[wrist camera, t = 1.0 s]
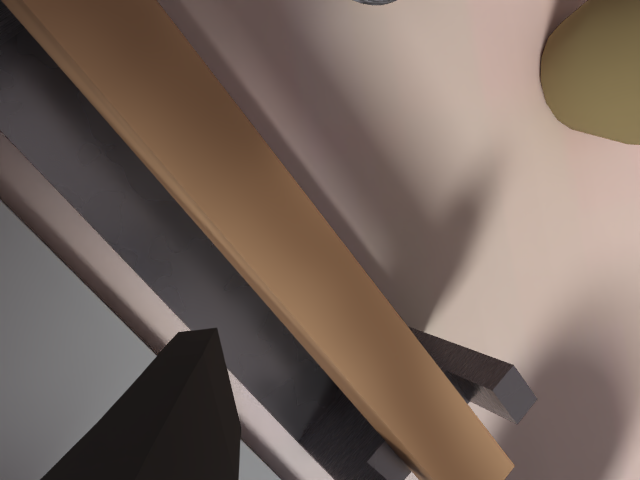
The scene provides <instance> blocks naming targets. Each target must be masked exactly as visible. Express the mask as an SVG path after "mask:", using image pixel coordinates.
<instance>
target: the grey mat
mask: <svg viewBox="0 0 640 480" xmlns="http://www.w3.org/2000/svg"><path fill="white" fill-rule="evenodd" d="M156 357H157V355H156V354H155V353H154V352H153V351H152V350H151V349H150V348H149V347H148V346H147V345H146V344H145V343H144V342H143V341H142V340H141V339H140V338H139V337H138V336H137V335H136V334H135V333H134V332H133V331H132V330H131V329H130V328H129V327H128V326H127V325H126V324H125V323H124V322H123V321H122V320H121V319H120V318H119V317H118V316H117V315H116V314H115V313H114V312H113V311H112V310H111V309H110V308H109V307H108V306H107V305H106V304H105V303H104V302H103V301H102V300H101V299H100V298H99V297H98V296H97V295H96V294H95V293H94V292H93V291H92V290H91V289H90V288H89V287H88V286H87V285H86V284H85V283H84V282H83V281H82V280H81V279H80V278H79V277H78V276H77V275H76V274H75V273H74V272H73V271H72V270H71V269H70V268H69V267H68V266H67V265H66V264H65V263H64V262H63V261H62V260H61V259H60V258H59V257H58V256H57V255H56V254H55V253H54V252H53V251H52V250H51V249H50V248H49V247H48V246H47V245H46V244H45V243H44V242H43V241H42V240H41V239H40V238H39V237H38V236H37V235H36V234H35V233H34V232H33V231H32V230H31V229H30V228H29V227H28V226H27V225H26V224H25V223H24V222H23V221H22V220H21V219H20V218H19V217H18V216H17V215H16V214H15V213H14V212H13V211H12V210H11V209H10V208H9V207H8V206H7V205H6V204H5V203H4V202H3V201H2V200H1V199H0V480H40V479H41V478H42V477H43V476H44V475H45V474H46V473H47V472H48V471H49V470H50V469H51V468H52V467H53V466H54V465H55V464H56V463H57V462H58V461H59V460H60V459H61V458H62V457H63V456H64V455H65V454H66V453H67V452H68V451H69V450H70V449H71V448H72V447H73V446H74V445H75V444H76V443H77V442H78V441H79V440H80V439H81V438H82V437H83V436H84V435H85V434H86V433H87V432H88V431H89V430H90V429H91V428H92V427H93V426H94V425H95V424H96V423H97V422H98V421H99V420H100V419H101V418H102V417H103V415H104V414H105V413H106V412H107V411H108V410H109V409H110V408H111V407H112V406H113V405H114V403H115V402H116V401H117V400H118V399H119V398H120V397H121V396H122V395H123V394H124V392H125V391H126V390H127V389H128V388H129V387H130V386H131V385H132V384H133V383H134V381H135V380H136V379H137V378H138V377H139V376H140V375H141V374H142V372H143V371H144V370H145V369H146V368H147V367H148V366H149V364H150V363H151V362H152V361H153V360H154V359H155V358H156ZM239 480H282V479H281V478H280V477H279V476H278V475H277V474H276V473H275V472H274V471H273V470H272V469H271V468H270V467H269V466H268V465H267V464H266V463H265V462H264V461H263V460H262V459H261V458H260V457H259V456H258V455H257V454H256V453H255V452H254V451H253V450H252V449H251V448H250V447H249V446H248V445H247V444H246V443H245V442H244V441H243V440H242V439H241V438H240V463H239Z"/></svg>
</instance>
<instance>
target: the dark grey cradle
mask: <svg viewBox="0 0 640 480" xmlns="http://www.w3.org/2000/svg"><path fill="white" fill-rule="evenodd" d="M0 131H1V132H2V133H3V134H4V135H5V136H6V137H7V138H8V139H9V140H10V141H11V142H12V143H13V144H14V145H15V146H16V147H17V148H18V150H19V151H20V152H21V153H22V154H23V155H24V156H25V157H26V158H27V159H28V160H29V161H30V162H31V163H32V164H33V165H34V166H35V167H36V168H37V169H38V171H39V172H40V173H41V174H42V175H43V176H44V177H45V178H46V179H47V180H48V181H49V182H50V183H51V184H52V185H53V186H54V187H55V188H56V189H57V190H58V191H59V193H60V194H61V195H62V196H63V197H64V198H65V199H66V200H67V201H68V202H69V203H70V204H71V205H72V206H73V207H74V208H75V209H76V210H77V211H78V212H79V213H80V215H81V216H82V217H83V218H84V219H85V220H86V221H87V222H88V223H89V224H90V225H91V226H92V227H93V228H94V229H95V230H96V231H97V232H98V233H99V234H100V235H101V237H102V238H103V239H104V240H105V241H106V242H107V243H108V244H109V245H110V246H111V247H112V248H113V249H114V250H115V251H116V252H117V253H118V254H119V255H120V256H121V257H122V259H123V260H124V261H125V262H126V263H127V264H128V265H129V266H130V267H131V268H132V269H133V270H134V271H135V272H136V273H137V274H138V275H139V276H140V277H141V278H142V280H143V281H144V282H145V283H146V284H147V285H148V286H149V287H150V288H151V289H152V290H153V291H154V292H155V293H156V294H157V295H158V296H159V297H160V298H161V299H162V300H163V302H164V303H165V304H166V305H167V306H168V307H169V308H170V309H171V310H172V311H173V312H174V313H175V314H176V315H177V316H178V317H179V318H180V319H181V320H182V321H183V322H184V324H185V325H186V326H187V327H188V328H189V329H190V330H191V331H193V330H201V329H209V328H217V329H218V333H219V338H220V342H221V346H222V350H223V354H224V359H225V363H226V367H227V369H228V370H229V371H230V372H231V373H232V374H233V375H234V376H235V377H236V378H237V379H238V380H239V381H240V382H241V383H242V384H243V385H244V386H245V387H246V389H247V390H248V391H249V392H250V393H251V394H252V395H253V396H254V397H255V398H256V399H257V400H258V401H259V402H260V403H261V404H262V405H263V406H264V407H265V408H266V409H267V411H268V412H269V413H270V414H271V415H272V416H273V417H274V418H275V419H276V420H277V421H278V422H279V423H280V424H281V425H282V426H283V427H284V428H285V429H286V430H287V431H288V433H289V434H290V435H291V436H292V437H293V438H294V439H295V440H296V441H297V442H298V443H299V444H300V445H301V446H302V447H303V448H304V449H305V450H306V451H307V452H308V453H309V455H310V456H311V457H312V458H313V459H314V460H315V461H316V462H317V463H318V464H319V465H320V466H321V467H322V468H323V469H324V470H325V471H326V472H327V473H328V474H329V475H330V476H331V477H332V478H333V479H334V480H405V478H406V477H407V476H408V475H409V474H410V472H411V470H410V469H409V468H408V466H407V465H406V464H405V463H404V462H403V461H402V459H401V458H400V457H399V456H398V455H397V454H396V453H395V451H394V450H393V449H392V448H391V447H390V446H389V445H388V443H387V442H386V441H385V440H384V439H383V438H382V437H381V435H380V434H379V433H378V432H377V431H376V430H375V429H374V427H373V426H372V425H371V424H370V423H369V422H368V420H367V419H366V418H365V417H364V416H363V415H362V414H361V412H360V411H359V410H358V409H357V408H356V407H355V406H354V404H353V403H352V402H351V401H350V400H349V399H348V398H347V396H346V395H345V394H344V393H343V392H342V391H341V390H340V388H339V387H338V386H337V385H336V384H335V383H334V381H333V380H332V379H331V378H330V377H329V376H328V375H327V373H326V372H325V371H324V370H323V369H322V368H321V367H320V365H319V364H318V363H317V362H316V361H315V360H314V359H313V357H312V356H311V355H310V354H309V353H308V352H307V351H306V349H305V348H304V347H303V346H302V345H301V344H300V342H299V341H298V340H297V339H296V338H295V337H294V336H293V334H292V333H291V332H290V331H289V330H288V329H287V328H286V326H285V325H284V324H283V323H282V322H281V321H280V320H279V318H278V317H277V316H276V315H275V314H274V313H273V312H272V310H271V309H270V308H269V307H268V306H267V305H266V303H265V302H264V301H263V300H262V299H261V298H260V297H259V295H258V294H257V293H256V292H255V291H254V290H253V289H252V287H251V286H250V285H249V284H248V283H247V282H246V281H245V279H244V278H243V277H242V276H241V275H240V274H239V273H238V271H237V270H236V269H235V268H234V267H233V266H232V264H231V263H230V262H229V261H228V260H227V259H226V258H225V256H224V255H223V254H222V253H221V252H220V251H219V250H218V248H217V247H216V246H215V245H214V244H213V243H212V242H211V240H210V239H209V238H208V237H207V236H206V235H205V234H204V232H203V231H202V230H201V229H200V228H199V227H198V225H197V224H196V223H195V222H194V221H193V220H192V219H191V217H190V216H189V215H188V214H187V213H186V212H185V211H184V209H183V208H182V207H181V206H180V205H179V204H178V203H177V201H176V200H175V199H174V198H173V197H172V196H171V195H170V193H169V192H168V191H167V190H166V189H165V188H164V186H163V185H162V184H161V183H160V182H159V181H158V180H157V178H156V177H155V176H154V175H153V174H152V173H151V172H150V170H149V169H148V168H147V167H146V166H145V165H144V164H143V162H142V161H141V160H140V159H139V158H138V157H137V156H136V154H135V153H134V152H133V151H132V150H131V149H130V147H129V146H128V145H127V144H126V143H125V142H124V141H123V139H122V138H121V137H120V136H119V135H118V134H117V133H116V131H115V130H114V129H113V128H112V127H111V126H110V125H109V123H108V122H107V121H106V120H105V119H104V118H103V117H102V115H101V114H100V113H99V112H98V111H97V110H96V108H95V107H94V106H93V105H92V104H91V103H90V102H89V100H88V99H87V98H86V97H85V96H84V95H83V94H82V92H81V91H80V90H79V89H78V88H77V87H76V86H75V84H74V83H73V82H72V81H71V80H70V79H69V78H68V76H67V75H66V74H65V73H64V72H63V71H62V69H61V68H60V67H59V66H58V65H57V64H56V63H55V61H54V60H53V59H52V58H51V57H50V56H49V55H48V53H47V52H46V51H45V50H44V49H43V48H42V47H41V45H40V44H39V43H38V42H37V41H36V40H35V39H34V37H33V36H32V35H31V34H30V33H29V32H28V30H27V29H26V28H25V27H24V26H23V25H22V24H21V22H20V21H19V20H18V19H17V18H16V17H15V16H14V14H13V13H12V12H11V11H10V10H9V9H8V8H7V6H6V5H5V4H4V3H3V2H2V1H1V0H0ZM408 328H409V329H410V330H411V332H412V333H413V334H414V335H415V337H416V338H417V339H418V341H419V342H420V343H421V344H422V346H423V347H424V348H425V350H426V351H427V352H428V354H429V355H430V356H431V357H432V359H433V360H434V361H435V363H436V364H437V365H438V367H439V368H440V369H441V370H442V372H443V373H444V374H445V376H446V377H447V378H448V380H449V381H450V382H451V383H452V385H453V386H454V387H455V389H456V390H457V391H458V393H459V394H460V395H461V396H462V398H463V399H464V400H465V402H466V403H467V404H468V403H469V402H470V401H471V402H473V403H475V404H477V405H479V406H481V407H483V408H485V409H487V410H489V411H491V412H493V413H495V414H497V415H499V416H501V417H503V418H505V419H507V420H509V421H511V422H513V423H515V424H518V423H519V422H520V420H521V419H522V418H523V417H524V415H525V414H526V413H527V412H528V410H529V409H530V408H531V406H532V405H533V404H534V403H535V401H536V400H537V398H536V396H535V395H534V393H533V392H532V391H531V389H530V388H529V386H528V385H527V383H526V382H525V381H524V379H523V378H522V376H521V375H520V373H519V372H518V371H517V369H516V368H515V366H514V365H512V364H509V363H507V362H504V361H501V360H498V359H496V358H493V357H490V356H487V355H485V354H482V353H479V352H477V351H474V350H471V349H468V348H466V347H463V346H460V345H457V344H455V343H452V342H449V341H446V340H444V339H441V338H438V337H435V336H433V335H430V334H427V333H425V332H422V331H419V330H416V329H414V328H411V327H408Z"/></svg>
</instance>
